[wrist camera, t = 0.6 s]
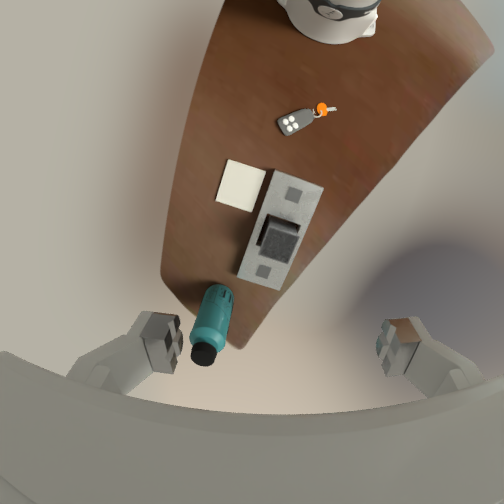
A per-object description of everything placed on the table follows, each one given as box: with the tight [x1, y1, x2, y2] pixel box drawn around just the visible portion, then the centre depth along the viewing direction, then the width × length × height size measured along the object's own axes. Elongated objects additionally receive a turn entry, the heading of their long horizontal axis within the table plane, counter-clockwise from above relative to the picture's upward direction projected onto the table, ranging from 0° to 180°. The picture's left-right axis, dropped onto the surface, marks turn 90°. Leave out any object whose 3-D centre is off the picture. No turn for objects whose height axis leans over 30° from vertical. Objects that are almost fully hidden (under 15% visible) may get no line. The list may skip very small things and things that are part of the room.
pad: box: [216, 159, 266, 212], centre depth 48 cm, size 8×7×1 cm
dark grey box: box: [258, 215, 300, 264], centre depth 49 cm, size 5×5×7 cm
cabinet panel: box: [237, 169, 324, 291], centre depth 51 cm, size 22×9×2 cm, turn 162°
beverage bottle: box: [189, 284, 234, 366], centre depth 49 cm, size 6×7×20 cm
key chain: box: [277, 103, 337, 136], centre depth 42 cm, size 13×4×2 cm, turn 120°
